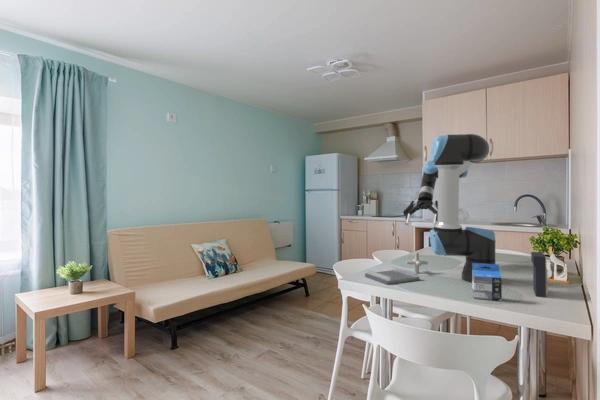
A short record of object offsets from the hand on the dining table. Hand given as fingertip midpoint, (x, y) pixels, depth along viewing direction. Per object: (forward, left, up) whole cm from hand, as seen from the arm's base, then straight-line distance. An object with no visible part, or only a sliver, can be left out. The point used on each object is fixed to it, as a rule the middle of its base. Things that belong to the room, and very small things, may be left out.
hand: (420, 224), depth 170 cm
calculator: (-54, -7, -23) cm, 59 cm away
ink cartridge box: (-50, +17, -23) cm, 58 cm away
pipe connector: (-7, +9, -23) cm, 26 cm away
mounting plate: (-11, +28, -23) cm, 38 cm away
